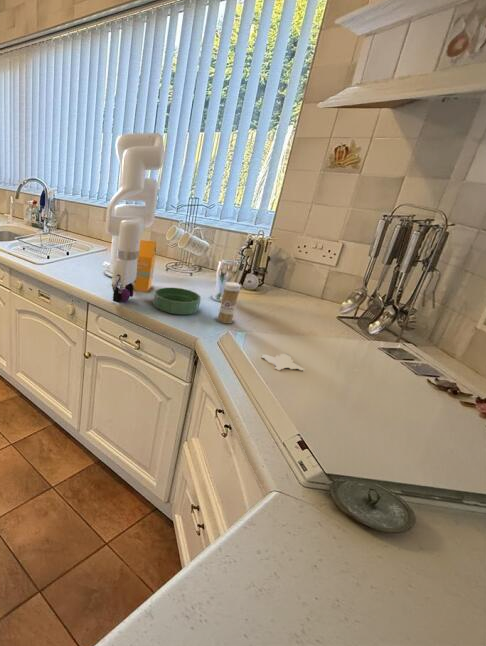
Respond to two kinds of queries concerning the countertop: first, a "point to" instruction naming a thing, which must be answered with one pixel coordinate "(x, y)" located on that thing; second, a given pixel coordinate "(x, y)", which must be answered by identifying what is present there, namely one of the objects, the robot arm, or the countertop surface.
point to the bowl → (176, 300)
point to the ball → (125, 295)
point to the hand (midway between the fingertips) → (122, 298)
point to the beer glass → (225, 276)
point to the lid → (373, 506)
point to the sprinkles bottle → (228, 302)
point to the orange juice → (145, 265)
